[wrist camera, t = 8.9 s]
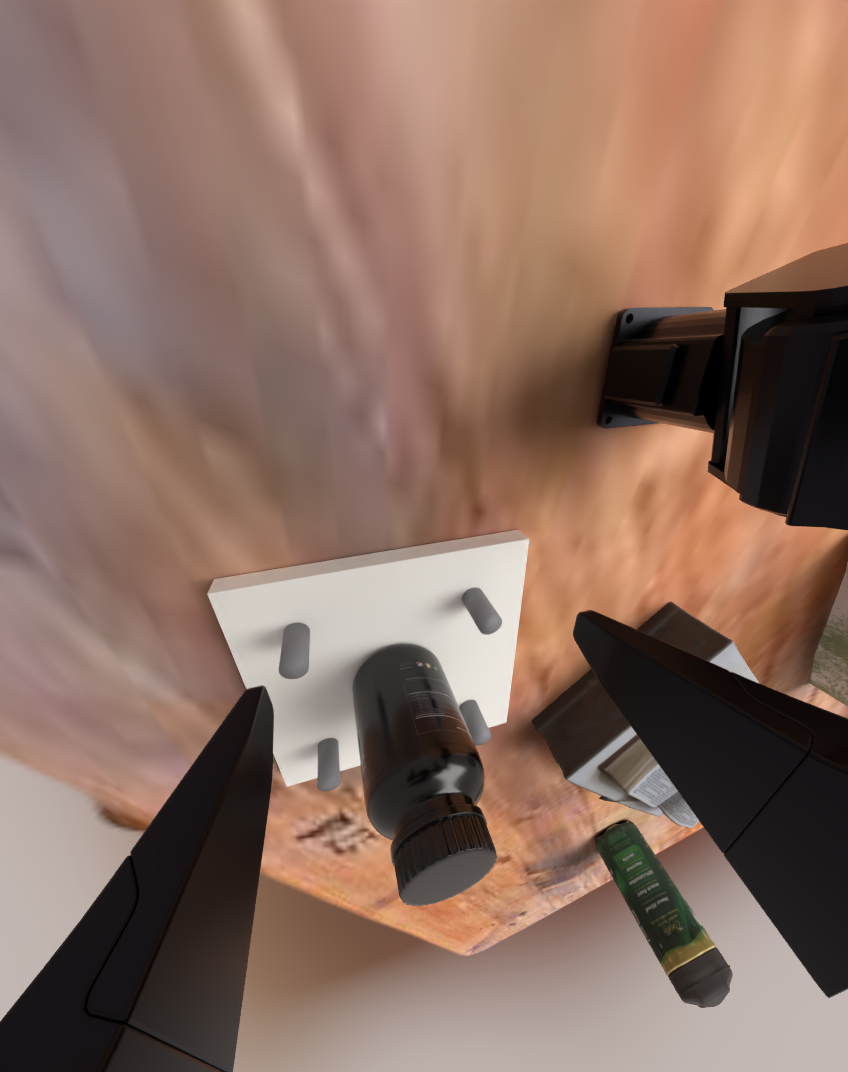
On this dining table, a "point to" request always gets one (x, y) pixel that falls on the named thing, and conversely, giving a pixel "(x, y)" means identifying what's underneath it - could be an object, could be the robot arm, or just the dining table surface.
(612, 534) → the dining table surface
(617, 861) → the coffee jar
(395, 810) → the supplement bottle
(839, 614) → the grocery bag
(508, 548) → the peg board
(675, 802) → the bible
